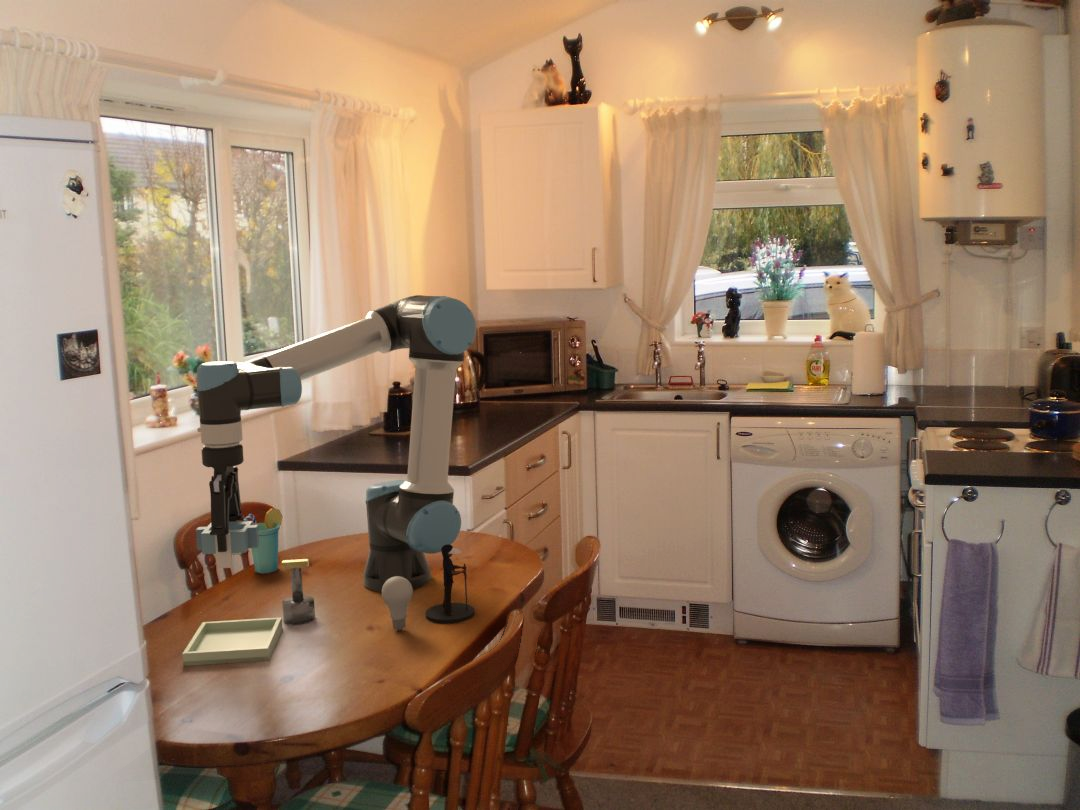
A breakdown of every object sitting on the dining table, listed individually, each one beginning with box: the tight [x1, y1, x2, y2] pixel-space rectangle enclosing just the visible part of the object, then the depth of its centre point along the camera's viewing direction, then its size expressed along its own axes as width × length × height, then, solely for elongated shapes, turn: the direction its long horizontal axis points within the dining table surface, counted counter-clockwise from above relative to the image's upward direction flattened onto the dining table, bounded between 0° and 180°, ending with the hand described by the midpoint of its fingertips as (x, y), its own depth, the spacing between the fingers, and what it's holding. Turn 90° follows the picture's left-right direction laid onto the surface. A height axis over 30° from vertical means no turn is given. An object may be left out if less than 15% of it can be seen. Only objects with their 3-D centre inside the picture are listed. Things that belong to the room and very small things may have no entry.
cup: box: [241, 508, 283, 574], centre depth 259 cm, size 14×8×15 cm, turn 162°
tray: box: [181, 616, 283, 667], centre depth 212 cm, size 16×17×2 cm
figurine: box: [425, 544, 476, 625], centre depth 224 cm, size 10×10×15 cm
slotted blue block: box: [195, 520, 259, 555], centre depth 210 cm, size 11×8×4 cm
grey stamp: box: [281, 558, 316, 626], centre depth 225 cm, size 6×6×12 cm
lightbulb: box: [381, 576, 414, 631], centre depth 217 cm, size 6×6×11 cm
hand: (229, 560), depth 211 cm, fingers closed on slotted blue block, 8 cm apart
